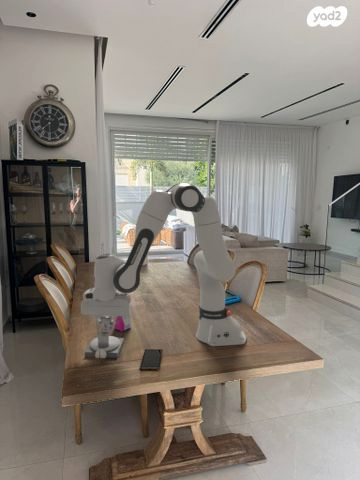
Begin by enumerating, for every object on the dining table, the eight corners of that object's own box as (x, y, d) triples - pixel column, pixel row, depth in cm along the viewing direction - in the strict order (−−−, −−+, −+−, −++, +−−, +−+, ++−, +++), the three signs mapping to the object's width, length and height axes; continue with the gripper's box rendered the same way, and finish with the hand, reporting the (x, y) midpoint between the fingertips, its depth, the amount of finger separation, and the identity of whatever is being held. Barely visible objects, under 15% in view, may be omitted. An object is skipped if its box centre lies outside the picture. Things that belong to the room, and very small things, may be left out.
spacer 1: (112, 326, 139) (112, 315, 138) (110, 330, 135) (110, 319, 134) (102, 326, 139) (102, 314, 138) (99, 330, 135) (99, 318, 134)
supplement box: (122, 325, 159) (122, 302, 157) (131, 328, 155) (130, 305, 154) (113, 329, 155) (113, 306, 153) (121, 332, 151) (121, 309, 149)
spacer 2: (110, 343, 134) (110, 332, 133) (107, 348, 130) (107, 336, 129) (99, 343, 134) (99, 331, 134) (96, 348, 130) (96, 336, 129)
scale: (124, 344, 142) (123, 334, 141) (117, 361, 128) (116, 350, 128) (94, 343, 142) (94, 334, 141) (84, 360, 129) (83, 349, 128)
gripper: (132, 291, 137) (132, 322, 140) (84, 289, 138) (84, 320, 140) (129, 296, 131) (129, 328, 133) (79, 294, 132) (80, 326, 134)
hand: (106, 324), depth 137 cm, fingers closed on spacer 1, 4 cm apart
